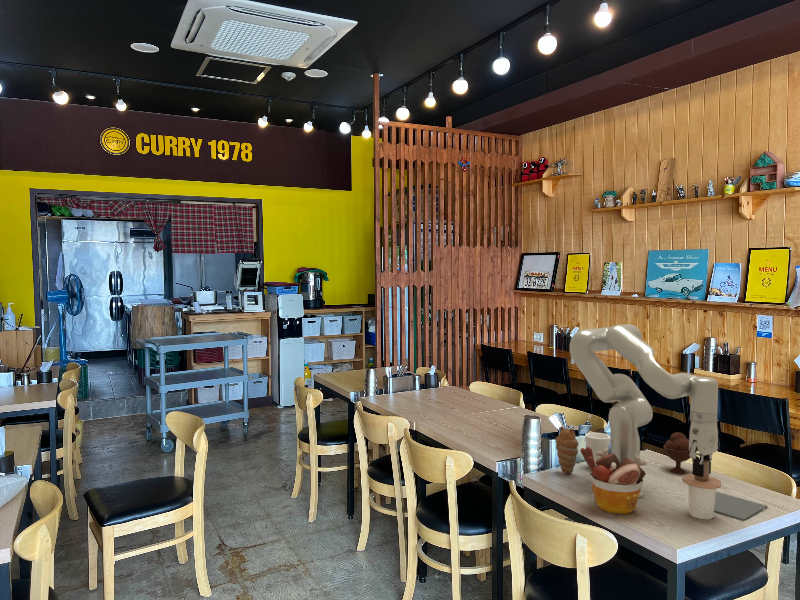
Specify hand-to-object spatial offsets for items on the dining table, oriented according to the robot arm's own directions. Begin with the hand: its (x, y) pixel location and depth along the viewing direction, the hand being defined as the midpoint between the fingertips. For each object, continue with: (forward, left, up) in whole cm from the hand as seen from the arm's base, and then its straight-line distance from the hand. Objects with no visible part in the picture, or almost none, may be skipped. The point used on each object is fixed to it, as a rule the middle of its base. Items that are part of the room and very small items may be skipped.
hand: (701, 473), depth 186 cm
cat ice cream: (-1, +50, -13) cm, 52 cm away
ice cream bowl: (+36, +26, -13) cm, 46 cm away
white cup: (0, 0, -13) cm, 13 cm away
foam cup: (+14, +47, -13) cm, 51 cm away
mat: (+15, -2, -13) cm, 20 cm away
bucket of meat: (-17, +20, -13) cm, 29 cm away
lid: (0, 0, -3) cm, 3 cm away
